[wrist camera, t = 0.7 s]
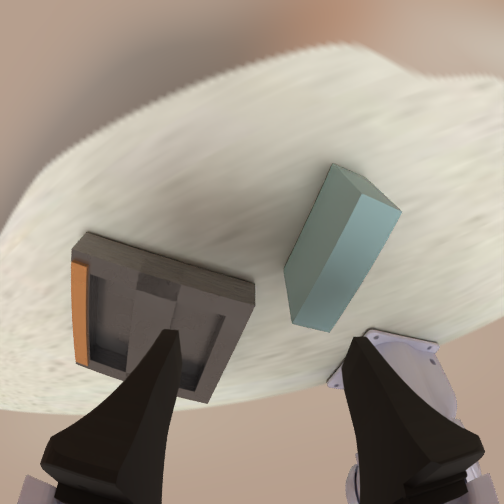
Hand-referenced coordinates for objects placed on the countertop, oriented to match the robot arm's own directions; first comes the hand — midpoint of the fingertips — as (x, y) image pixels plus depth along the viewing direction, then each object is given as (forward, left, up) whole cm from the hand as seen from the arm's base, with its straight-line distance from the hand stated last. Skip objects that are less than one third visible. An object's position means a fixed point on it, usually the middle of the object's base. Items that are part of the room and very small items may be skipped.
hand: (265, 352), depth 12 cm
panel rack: (+6, +9, -9) cm, 14 cm away
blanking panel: (-3, -3, -10) cm, 11 cm away
